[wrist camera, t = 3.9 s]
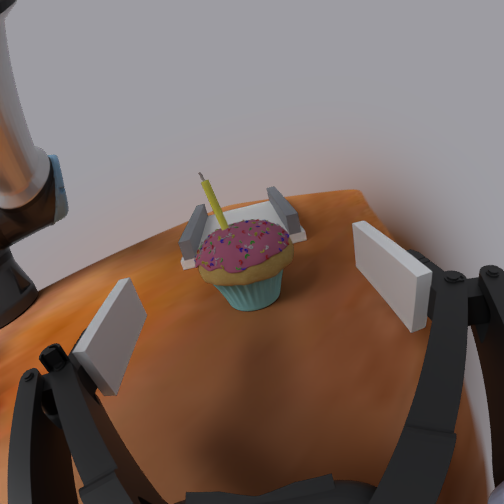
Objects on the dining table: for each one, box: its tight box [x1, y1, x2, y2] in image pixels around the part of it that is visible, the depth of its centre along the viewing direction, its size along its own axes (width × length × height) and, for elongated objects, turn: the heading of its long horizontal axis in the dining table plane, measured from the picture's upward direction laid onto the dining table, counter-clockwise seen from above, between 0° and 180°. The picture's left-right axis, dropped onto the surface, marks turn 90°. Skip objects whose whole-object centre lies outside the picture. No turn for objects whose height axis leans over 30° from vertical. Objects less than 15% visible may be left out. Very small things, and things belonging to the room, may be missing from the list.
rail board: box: [178, 187, 307, 270], centre depth 44 cm, size 20×16×4 cm
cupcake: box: [194, 173, 294, 311], centre depth 24 cm, size 9×8×12 cm
